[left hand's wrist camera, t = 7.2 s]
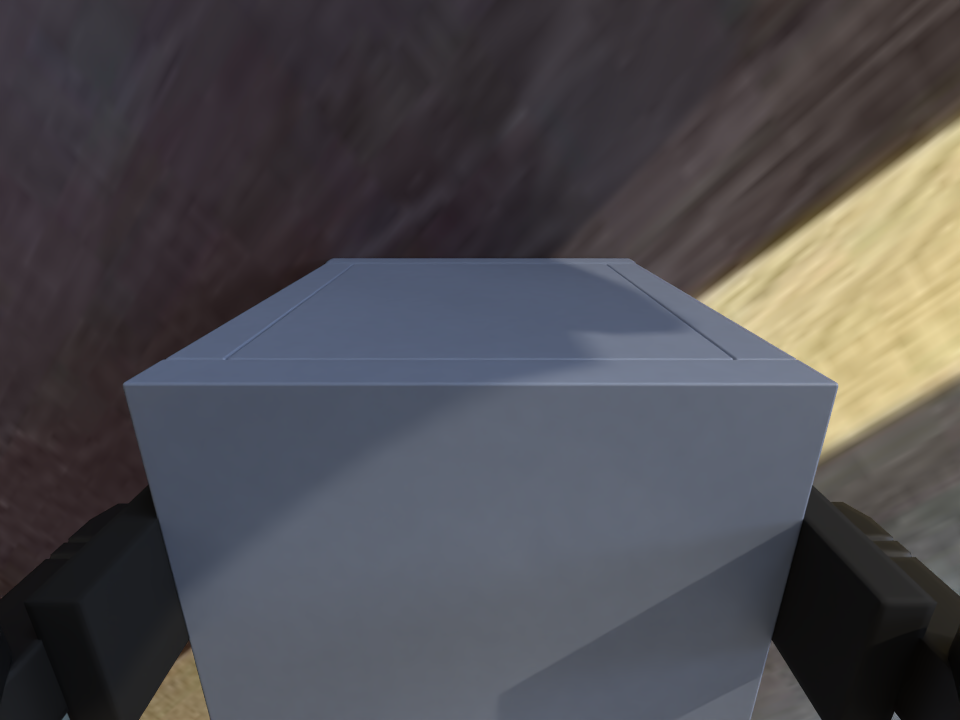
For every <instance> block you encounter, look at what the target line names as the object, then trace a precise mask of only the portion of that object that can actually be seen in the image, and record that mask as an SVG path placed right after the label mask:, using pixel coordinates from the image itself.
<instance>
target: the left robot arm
mask: <svg viewBox="0 0 960 720" xmlns="http://www.w3.org/2000/svg"><path fill="white" fill-rule="evenodd" d="M188 640H189V636H188V632H187V628H186V625H185V621H184V617H183V613H182V609H181V606H180V602H179V598H178V594H177V590H176V587H175V583H174V579H173V575H172V571H171V568H170V564H169V560H168V556H167V552H166V549H165V545H164V541H163V537H162V533H161V530H160V526H159V522H158V518H157V514H156V510H155V507H154V503H153V499H152V495H151V491H150V488H149V485H148V486H147V487H146V488H145V489H144V490H142V491H141V492H140V493H139V494H138V495H137V496H136V497H135V498H134V499H133V500H132V501H131V502H130V503H129V504H117V505H115V506H113V507H112V508H110V509H108V510H106V511H105V512H103V513H101V514H99V515H98V516H96V517H94V518H92V519H91V520H89V521H88V522H87V523H86V524H85V525H84V526H83V527H81V528H80V529H79V530H78V531H77V532H76V533H75V534H74V535H72V536H71V537H70V538H69V541H68V543H63V544H62V545H61V546H60V547H59V548H58V549H57V550H56V551H54V552H53V553H52V554H51V557H50V559H45V560H44V561H43V562H42V563H41V564H40V565H39V566H38V567H36V568H35V569H34V570H33V571H32V572H31V573H30V574H29V575H27V576H26V577H25V578H24V579H23V580H22V581H21V582H20V583H18V584H17V585H16V586H15V587H14V588H13V589H12V590H11V591H9V592H8V593H7V594H6V595H5V596H4V597H3V598H2V599H0V720H62V719H63V718H64V716H65V715H66V714H68V717H69V719H70V720H139V719H140V717H141V715H142V714H143V712H144V711H145V709H146V707H147V706H148V704H149V703H150V701H151V699H152V698H153V696H154V695H155V693H156V691H157V690H158V688H159V687H160V685H161V683H162V682H163V680H164V679H165V677H166V675H167V674H168V672H169V671H170V669H171V667H172V666H173V664H174V663H175V661H176V659H177V658H178V656H179V655H180V653H181V651H182V650H183V648H184V647H185V645H186V643H187V642H188ZM772 641H773V642H774V644H775V646H776V647H777V649H778V650H779V652H780V654H781V655H782V657H783V658H784V660H785V662H786V663H787V665H788V666H789V668H790V670H791V671H792V673H793V674H794V676H795V678H796V679H797V681H798V682H799V684H800V686H801V687H802V689H803V690H804V692H805V694H806V695H807V697H808V699H809V700H810V702H811V703H812V705H813V707H814V708H815V710H816V711H817V713H818V715H819V716H820V718H821V719H822V720H891V719H892V716H893V714H894V711H895V713H896V714H897V715H898V717H899V718H900V719H901V720H960V596H959V595H958V594H956V593H955V592H954V591H953V590H952V589H951V588H950V587H949V586H947V585H946V584H945V583H944V582H943V581H942V580H941V579H940V578H938V577H937V576H936V575H935V574H934V573H933V572H932V571H930V570H929V569H928V568H927V567H926V566H925V565H924V564H923V563H921V562H920V561H919V560H918V559H917V558H916V557H911V553H910V552H909V551H908V550H907V549H906V548H904V547H903V546H902V545H901V544H900V543H899V542H898V541H893V537H892V536H891V535H890V534H889V533H887V532H886V531H885V530H884V529H883V528H882V527H881V526H880V525H878V524H877V523H876V522H875V521H874V520H873V519H872V518H870V517H868V516H866V515H865V514H863V513H861V512H859V511H858V510H856V509H854V508H852V507H851V506H849V505H847V504H845V503H844V502H830V501H829V500H828V499H827V498H826V497H825V496H823V495H822V494H821V493H820V492H819V491H818V490H817V489H816V488H815V487H814V486H813V485H812V488H811V492H810V495H809V499H808V503H807V507H806V511H805V514H804V518H803V522H802V526H801V530H800V533H799V537H798V541H797V545H796V549H795V552H794V556H793V560H792V564H791V568H790V571H789V575H788V579H787V583H786V586H785V590H784V594H783V598H782V602H781V605H780V609H779V613H778V617H777V621H776V624H775V628H774V632H773V636H772Z"/></svg>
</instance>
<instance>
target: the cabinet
mask: <svg viewBox="0 0 960 720" xmlns="http://www.w3.org/2000/svg"><path fill="white" fill-rule="evenodd" d="M123 389H124V392H125V396H126V400H127V404H128V408H129V412H130V415H131V419H132V423H133V427H134V431H135V434H136V438H137V442H138V446H139V450H140V453H141V457H142V461H143V465H144V469H145V472H146V476H147V480H148V484H149V488H150V491H151V495H152V499H153V503H154V507H155V510H156V514H157V518H158V522H159V526H160V530H161V533H162V537H163V541H164V545H165V549H166V552H167V556H168V560H169V564H170V568H171V571H172V575H173V579H174V583H175V587H176V590H177V594H178V598H179V602H180V606H181V609H182V613H183V617H184V621H185V625H186V628H187V632H188V636H189V640H190V644H191V648H192V651H193V655H194V659H195V663H196V667H197V670H198V674H199V678H200V682H201V686H202V689H203V693H204V697H205V701H206V705H207V708H208V712H209V716H210V720H750V719H751V716H752V712H753V708H754V704H755V700H756V697H757V693H758V689H759V685H760V681H761V678H762V674H763V670H764V666H765V662H766V659H767V655H768V651H769V647H770V643H771V640H772V636H773V632H774V628H775V624H776V621H777V617H778V613H779V609H780V605H781V602H782V598H783V594H784V590H785V586H786V583H787V579H788V575H789V571H790V568H791V564H792V560H793V556H794V552H795V549H796V545H797V541H798V537H799V533H800V530H801V526H802V522H803V518H804V514H805V511H806V507H807V503H808V499H809V495H810V492H811V488H812V484H813V480H814V476H815V473H816V469H817V465H818V461H819V457H820V454H821V450H822V446H823V442H824V438H825V435H826V431H827V427H828V423H829V419H830V416H831V412H832V408H833V404H834V400H835V397H836V393H837V389H838V384H837V383H836V382H835V381H833V380H831V379H829V378H828V377H826V376H824V375H823V374H821V373H819V372H818V371H816V370H814V369H813V368H811V367H809V366H808V365H806V364H804V363H802V362H801V361H799V360H796V359H795V358H794V357H792V356H790V355H789V354H787V353H785V352H784V351H782V350H780V349H779V348H777V347H775V346H774V345H772V344H770V343H769V342H767V341H765V340H763V339H762V338H760V337H758V336H757V335H755V334H753V333H752V332H750V331H748V330H747V329H745V328H743V327H742V326H740V325H738V324H737V323H735V322H733V321H731V320H730V319H728V318H726V317H725V316H723V315H721V314H720V313H718V312H716V311H715V310H713V309H711V308H710V307H708V306H706V305H705V304H703V303H701V302H699V301H698V300H696V299H694V298H693V297H691V296H689V295H688V294H686V293H684V292H683V291H681V290H679V289H678V288H676V287H674V286H673V285H671V284H669V283H667V282H666V281H664V280H662V279H661V278H659V277H657V276H656V275H654V274H652V273H651V272H649V271H647V270H646V269H644V268H642V267H641V266H639V265H637V264H635V262H634V261H632V260H631V259H629V258H332V259H330V260H329V261H327V262H326V264H324V265H323V266H321V267H319V268H318V269H316V270H314V271H313V272H311V273H309V274H308V275H306V276H304V277H302V278H301V279H299V280H297V281H296V282H294V283H292V284H291V285H289V286H287V287H286V288H284V289H282V290H281V291H279V292H277V293H276V294H274V295H272V296H271V297H269V298H267V299H265V300H264V301H262V302H260V303H259V304H257V305H255V306H254V307H252V308H250V309H249V310H247V311H245V312H244V313H242V314H240V315H239V316H237V317H235V318H234V319H232V320H230V321H228V322H227V323H225V324H223V325H222V326H220V327H218V328H217V329H215V330H213V331H212V332H210V333H208V334H207V335H205V336H203V337H202V338H200V339H198V340H197V341H195V342H193V343H192V344H190V345H188V346H186V347H185V348H183V349H181V350H180V351H178V352H176V353H175V354H173V355H171V356H170V357H168V358H167V359H166V360H162V361H160V362H158V363H156V364H155V365H153V366H151V367H150V368H148V369H146V370H145V371H143V372H141V373H140V374H138V375H136V376H134V377H133V378H131V379H129V380H128V381H126V382H124V383H123Z"/></svg>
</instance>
